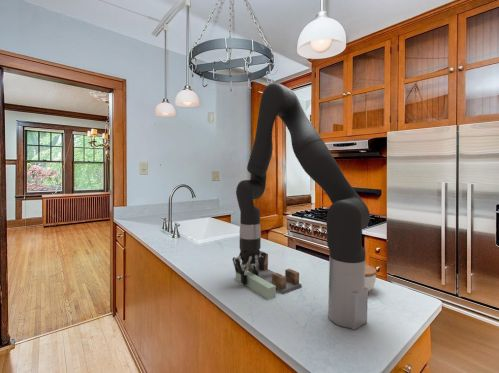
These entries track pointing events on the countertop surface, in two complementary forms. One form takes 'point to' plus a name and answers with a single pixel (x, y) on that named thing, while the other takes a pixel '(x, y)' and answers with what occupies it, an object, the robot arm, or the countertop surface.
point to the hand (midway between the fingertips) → (249, 282)
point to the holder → (279, 278)
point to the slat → (259, 285)
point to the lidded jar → (370, 276)
